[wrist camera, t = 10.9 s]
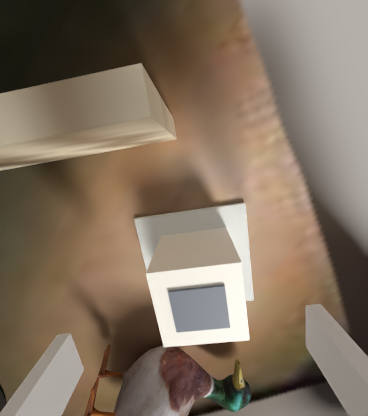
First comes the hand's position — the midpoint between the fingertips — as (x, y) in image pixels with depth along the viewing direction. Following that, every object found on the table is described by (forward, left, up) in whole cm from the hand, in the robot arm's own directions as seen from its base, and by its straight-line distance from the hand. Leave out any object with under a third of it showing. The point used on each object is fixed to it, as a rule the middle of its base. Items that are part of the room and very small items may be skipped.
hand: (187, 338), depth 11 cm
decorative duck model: (-5, -14, -9) cm, 17 cm away
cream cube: (+1, 0, -8) cm, 8 cm away
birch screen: (-9, +12, -9) cm, 17 cm away
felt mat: (+1, 0, -9) cm, 9 cm away
